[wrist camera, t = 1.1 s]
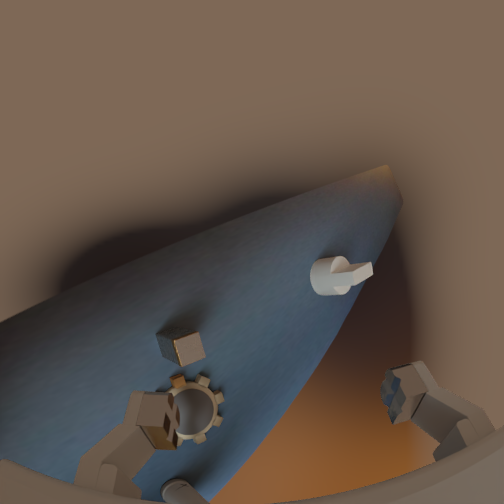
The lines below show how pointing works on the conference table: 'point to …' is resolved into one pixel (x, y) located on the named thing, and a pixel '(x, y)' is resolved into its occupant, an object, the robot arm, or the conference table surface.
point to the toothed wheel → (195, 407)
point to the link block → (180, 346)
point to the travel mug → (181, 493)
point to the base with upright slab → (337, 275)
